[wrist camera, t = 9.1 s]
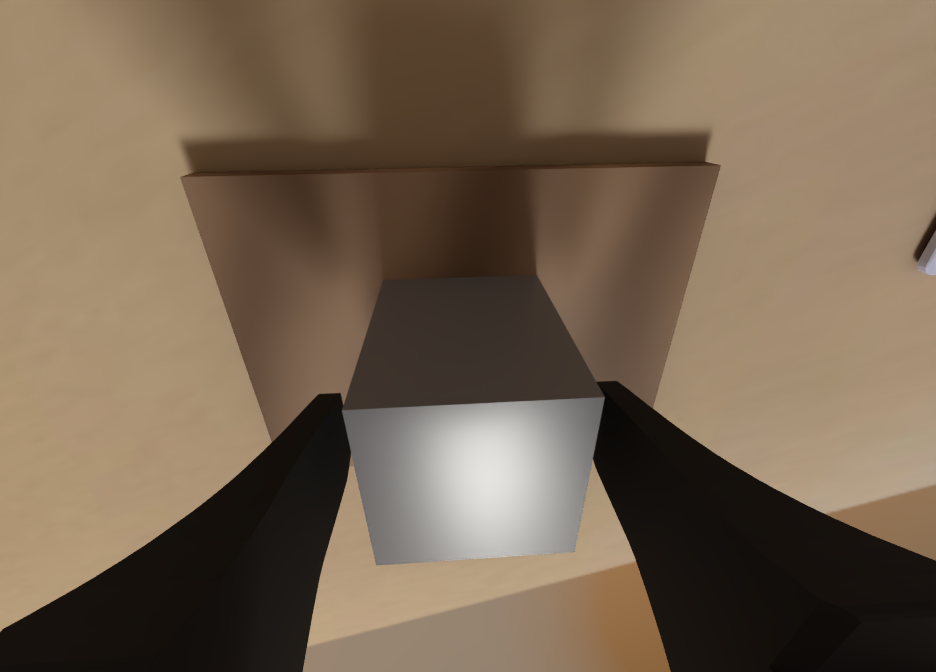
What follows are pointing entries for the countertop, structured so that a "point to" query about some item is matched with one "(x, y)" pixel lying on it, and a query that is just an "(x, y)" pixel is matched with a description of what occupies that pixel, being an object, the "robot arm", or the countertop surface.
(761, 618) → the robot arm
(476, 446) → the gray rectangular prism
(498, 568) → the countertop surface
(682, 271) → the flat brown plate
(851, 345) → the countertop surface
